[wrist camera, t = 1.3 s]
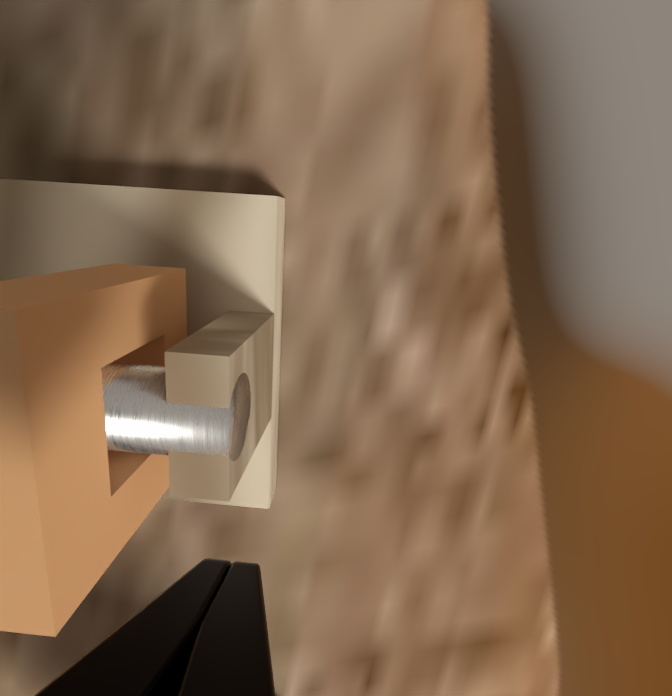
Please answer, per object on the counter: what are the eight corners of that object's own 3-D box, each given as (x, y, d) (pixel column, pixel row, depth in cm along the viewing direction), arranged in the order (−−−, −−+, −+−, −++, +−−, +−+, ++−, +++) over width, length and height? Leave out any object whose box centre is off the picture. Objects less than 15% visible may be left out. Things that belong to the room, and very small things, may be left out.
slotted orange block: (185, 268, 15) (14, 309, 8) (189, 459, 17) (55, 637, 10) (114, 263, 15) (-120, 300, 8) (127, 453, 17) (-54, 625, 10)
